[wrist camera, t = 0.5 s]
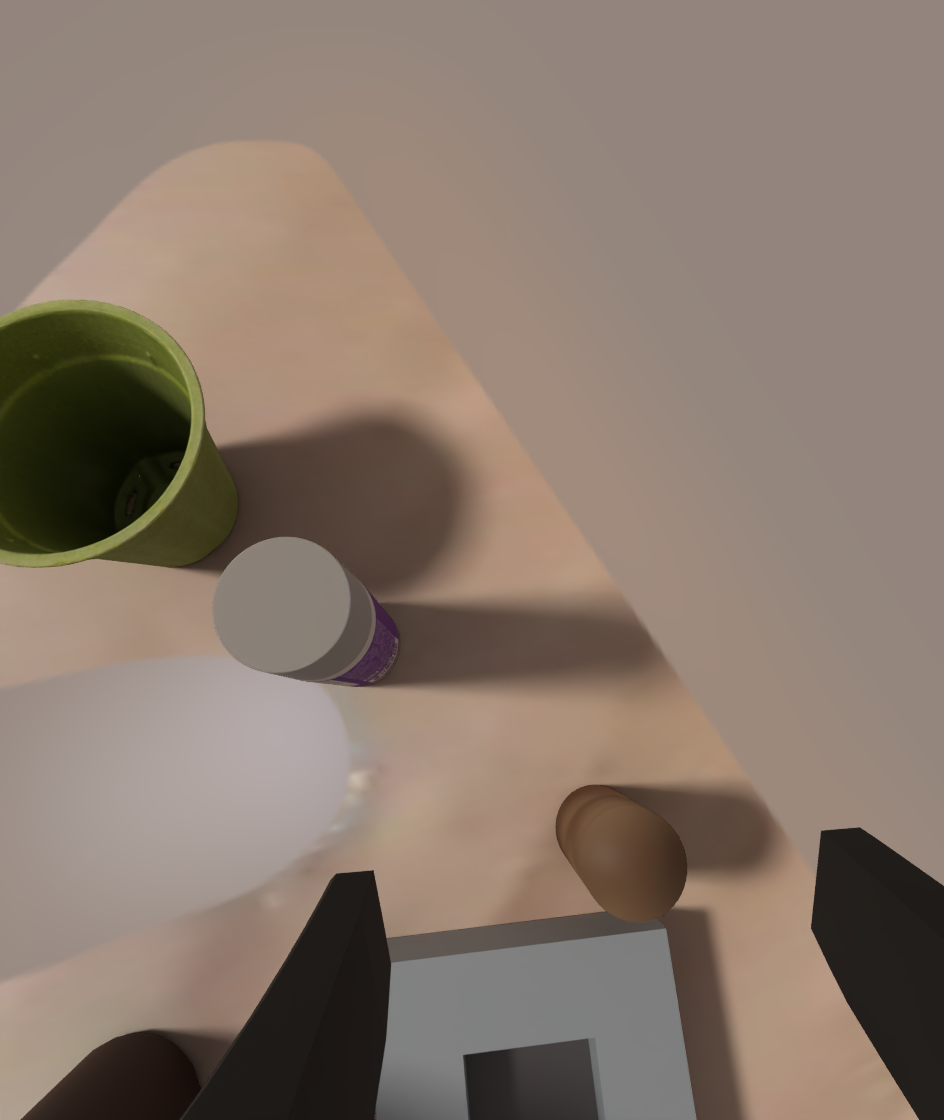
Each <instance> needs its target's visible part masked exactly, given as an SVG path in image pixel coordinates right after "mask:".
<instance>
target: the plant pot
mask: <svg viewBox="0 0 944 1120" xmlns="http://www.w3.org/2000/svg"><path fill="white" fill-rule="evenodd" d="M177 461H182V463H181V465H180V467H179V468H174V469H171V467H172V463H173V462H177ZM139 475H140V477H141V478H140V477H139ZM132 491H136V492H137V494H138V495H137V497H136V500H135V504H134V507H133V509H132V514H130V515H129V516H127V515H126V509H127V508H126V505H127V502H128V499H129V497H130V494H131V492H132ZM237 513H238V495H237V490H236V486H235V483H234V481H233V479H232V477H231V475H230V473H229V471H228V469H227V467H226V465H225V463H224V461H223V459H222V457H221V455H220V453H219V451H218V449H217V447H216V445H215V443H214V441H213V439H212V437H211V435H210V433H209V431H208V430H207V426H206V421H205V406H204V399H203V393H202V389H201V385H200V382H199V379H198V377H197V374H196V372H195V369H194V367H193V365H192V363H191V361H190V360H189V358H188V357H187V355H186V353H185V352H184V351H183V349H182V348H181V347H180V346H179V344H178V343H177V342H176V341H175V340H174V339H173V338H172V337H171V336H170V335H169V334H168V333H167V332H166V331H165V330H163V329H162V328H161V327H160V326H158V325H157V324H155V323H154V322H152V321H151V320H149V319H147V318H145V317H144V316H142V315H140V314H138V313H135V312H133V311H131V310H128V309H126V308H123V307H120V306H116V305H113V304H109V303H104V302H97V301H88V300H57V301H49V302H44V303H39V304H35V305H31V306H28V307H24V308H21V309H18V310H15V311H12V312H10V313H8V314H6V315H3V316H1V317H0V563H1V564H5V565H10V566H18V567H33V568H37V567H55V566H63V565H69V564H74V563H78V562H82V561H85V560H90V559H103V560H112V561H120V562H129V563H137V564H146V565H154V566H162V567H177V566H183V565H188V564H191V563H194V562H197V561H199V560H201V559H203V558H204V557H205V556H207V555H208V554H209V553H210V552H212V551H213V550H214V549H215V548H217V547H218V546H219V545H220V544H221V543H222V542H223V541H224V540H225V539H226V538H227V537H228V535H229V533H230V532H231V530H232V528H233V526H234V523H235V520H236V517H237Z"/></svg>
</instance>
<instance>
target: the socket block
mask: <svg viewBox="0 0 944 1120" xmlns="http://www.w3.org/2000/svg"><path fill="white" fill-rule="evenodd" d="M387 944H388V949H389V955H390V960H391V977H390V993H389V1008H388V1022H387V1035H386V1044H385V1051H384V1057H383V1064H382V1070H381V1076H380V1083H379V1089H378V1095H377V1102H376V1120H697V1119H696V1113H695V1107H694V1100H693V1094H692V1088H691V1082H690V1075H689V1069H688V1063H687V1056H686V1050H685V1044H684V1038H683V1031H682V1025H681V1019H680V1012H679V1006H678V1000H677V994H676V987H675V981H674V975H673V968H672V962H671V956H670V950H669V943H668V937H667V931H666V928H665V927H664V926H663V924H662V923H661V922H660V921H659V920H658V919H657V918H656V919H653V920H651V921H646V922H629V921H625V920H622V919H619V918H617V917H615V916H613V915H611V914H610V913H608V912H599V913H591V914H583V915H574V916H566V917H558V918H550V919H542V920H534V921H526V922H518V923H509V924H501V925H493V926H485V927H477V928H469V929H461V930H452V931H444V932H436V933H428V934H420V935H412V936H404V937H395V938H387Z"/></svg>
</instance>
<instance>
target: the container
mask: <svg viewBox="0 0 944 1120" xmlns="http://www.w3.org/2000/svg"><path fill="white" fill-rule="evenodd" d="M212 614H213V622H214V627H215V630H216V633H217V635H218V637H219V639H220V641H221V643H222V644H223V646H224V647H225V649H226V650H227V651H228V652H229V653H230V654H231V655H232V656H233V657H234V658H235V659H236V660H238V661H239V662H240V663H242V664H244V665H245V666H248V667H250V668H252V669H255V670H258V671H262V672H266V673H271V674H275V675H279V676H284V677H288V678H293V679H297V680H301V681H307V682H315V683H324V684H333V685H342V686H351V687H361V686H367V685H370V684H373V683H375V682H377V681H379V680H381V679H382V678H383V677H385V676H386V675H387V674H388V673H389V672H390V670H391V669H392V668H393V666H394V665H395V663H396V660H397V658H398V655H399V650H400V637H399V633H398V630H397V627H396V625H395V623H394V622H393V620H392V619H391V617H390V616H389V615H388V614H387V613H386V611H385V610H384V609H383V608H382V607H381V605H380V604H379V603H378V602H377V601H376V599H375V598H374V597H373V596H372V594H371V593H370V592H369V591H368V590H367V588H366V587H365V586H364V585H363V584H362V583H361V582H360V581H359V580H358V579H357V578H356V577H355V576H354V575H353V574H352V573H351V572H350V571H349V570H348V569H347V568H346V567H345V566H344V565H343V564H342V563H341V562H340V561H338V560H337V559H336V558H335V557H334V556H333V555H332V554H331V553H330V552H329V551H328V550H326V549H325V548H323V547H322V546H320V545H318V544H316V543H314V542H312V541H309V540H306V539H303V538H297V537H276V538H271V539H267V540H264V541H261V542H258V543H256V544H254V545H252V546H250V547H249V548H247V549H245V550H244V551H243V552H241V553H240V554H239V555H238V556H236V557H235V558H234V559H233V560H232V561H231V563H230V564H229V565H228V566H227V568H226V569H225V570H224V572H223V574H222V575H221V577H220V579H219V581H218V584H217V586H216V589H215V593H214V597H213V605H212Z"/></svg>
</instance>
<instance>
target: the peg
mask: <svg viewBox="0 0 944 1120" xmlns="http://www.w3.org/2000/svg"><path fill="white" fill-rule="evenodd" d="M556 835H557V840H558V843H559V846H560V848H561V850H562V852H563V853H564V855H565V856H566V858H567V859H568V861H569V862H570V864H571V865H572V867H573V868H574V870H575V871H576V873H577V874H578V876H579V877H580V878H581V880H582V881H583V883H584V884H585V886H586V887H587V889H588V890H589V892H590V893H591V895H592V896H593V897H594V899H595V900H596V901H597V903H598V904H599V905H600V906H601V907H602V908H603V909H604V910H606V911H607V912H608V913H610V914H611V915H613V916H615V917H617V918H619V919H622V920H625V921H629V922H646V921H651V920H653V919H656V918H658V917H660V916H662V915H664V914H665V913H666V912H668V911H669V910H670V909H671V908H672V907H673V906H674V905H675V903H676V902H677V901H678V899H679V897H680V896H681V894H682V891H683V889H684V886H685V882H686V876H687V860H686V854H685V850H684V847H683V845H682V842H681V840H680V838H679V836H678V835H677V833H676V832H675V830H674V829H673V828H672V827H671V825H670V824H669V823H668V822H667V821H665V820H664V819H663V818H662V817H660V816H659V815H657V814H655V813H654V812H652V811H650V810H648V809H647V808H645V807H643V806H641V805H640V804H638V803H636V802H634V801H633V800H631V799H629V798H628V797H626V796H624V795H622V794H621V793H619V792H617V791H615V790H613V789H612V788H609V787H606V786H602V785H588V786H584V787H581V788H579V789H577V790H575V791H574V792H572V793H571V794H570V795H569V796H568V797H567V798H566V799H565V800H564V802H563V803H562V805H561V807H560V809H559V811H558V815H557V819H556Z"/></svg>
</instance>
